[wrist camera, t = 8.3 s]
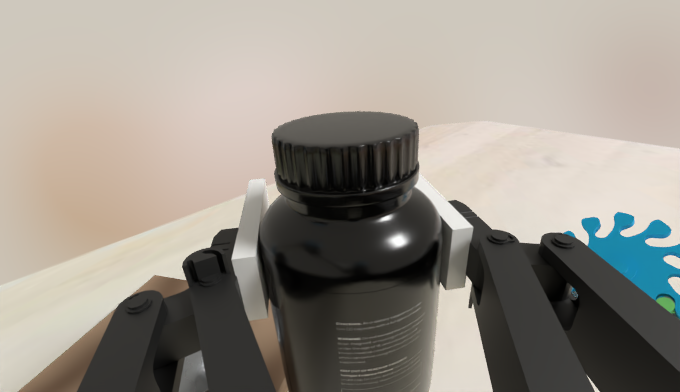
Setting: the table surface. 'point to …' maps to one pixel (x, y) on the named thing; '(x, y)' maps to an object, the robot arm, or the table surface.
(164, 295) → the walnut board
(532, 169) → the table surface
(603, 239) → the gear
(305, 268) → the supplement bottle
